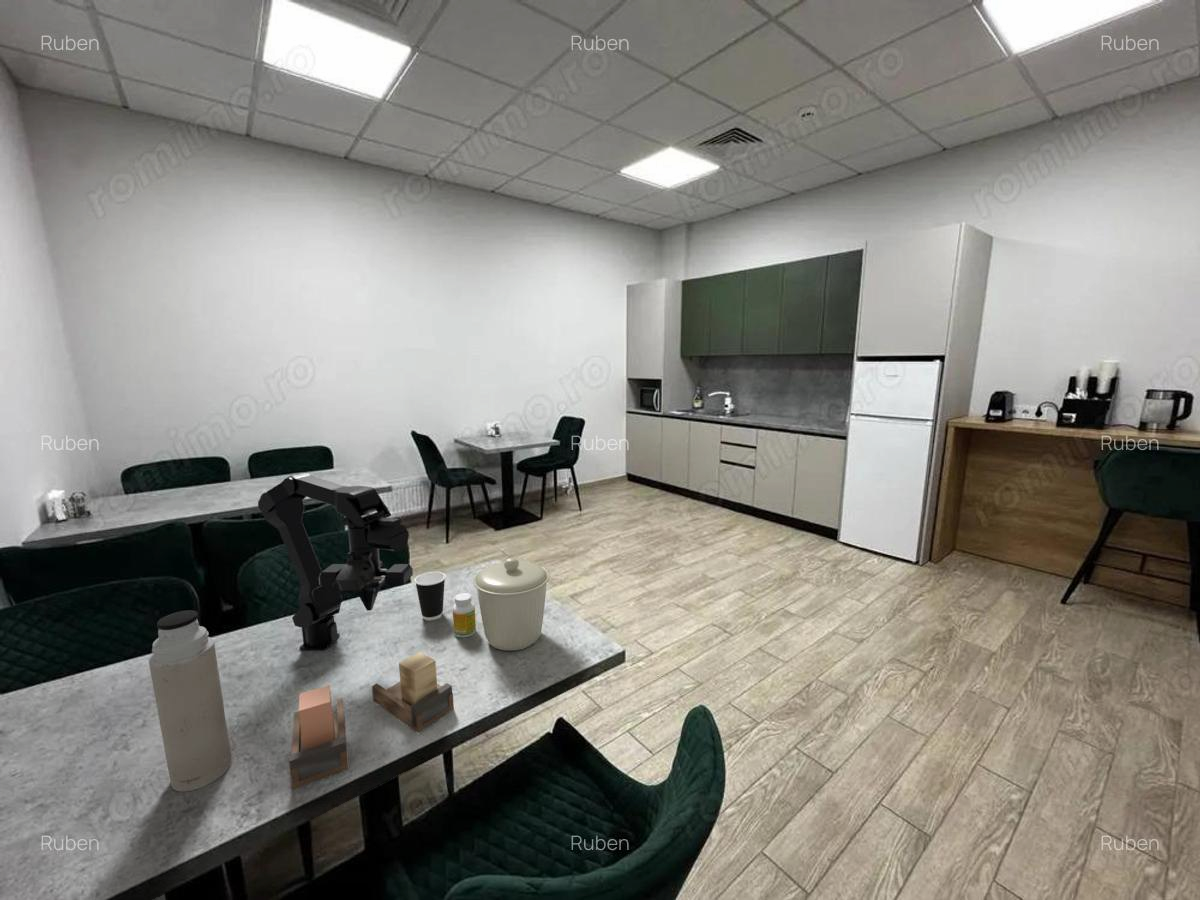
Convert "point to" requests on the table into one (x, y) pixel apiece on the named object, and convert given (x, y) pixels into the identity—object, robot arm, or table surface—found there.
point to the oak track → (415, 705)
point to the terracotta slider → (316, 717)
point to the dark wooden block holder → (318, 753)
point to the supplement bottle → (464, 616)
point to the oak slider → (417, 677)
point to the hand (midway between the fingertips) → (369, 609)
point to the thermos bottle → (189, 702)
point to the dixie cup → (431, 594)
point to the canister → (512, 602)
